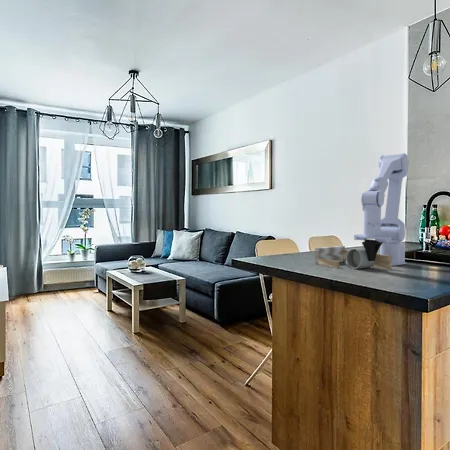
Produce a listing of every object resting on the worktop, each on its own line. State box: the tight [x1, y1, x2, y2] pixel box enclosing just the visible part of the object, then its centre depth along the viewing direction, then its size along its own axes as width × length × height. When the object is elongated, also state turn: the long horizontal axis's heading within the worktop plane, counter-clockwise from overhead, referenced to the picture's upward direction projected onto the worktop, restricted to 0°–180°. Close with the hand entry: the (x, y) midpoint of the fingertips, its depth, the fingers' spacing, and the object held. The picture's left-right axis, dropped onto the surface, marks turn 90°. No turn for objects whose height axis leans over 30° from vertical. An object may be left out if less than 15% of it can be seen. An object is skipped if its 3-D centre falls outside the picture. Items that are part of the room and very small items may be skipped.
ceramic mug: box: [345, 247, 375, 270], centre depth 138 cm, size 11×8×8 cm
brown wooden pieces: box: [314, 245, 392, 270], centre depth 140 cm, size 15×24×6 cm, turn 30°
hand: (371, 260), depth 132 cm, fingers closed
